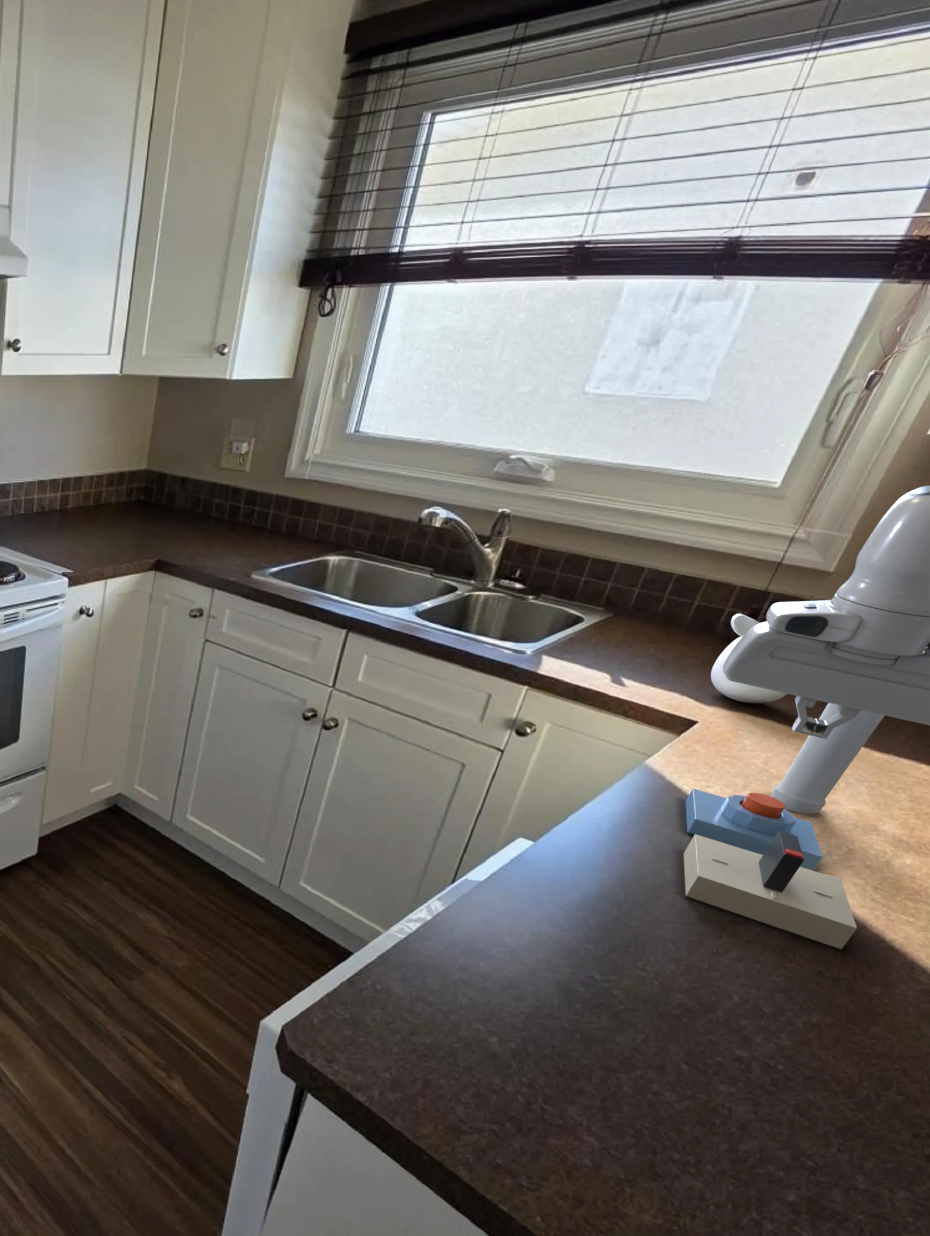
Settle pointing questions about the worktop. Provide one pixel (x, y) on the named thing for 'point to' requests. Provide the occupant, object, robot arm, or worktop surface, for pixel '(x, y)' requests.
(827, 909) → the box
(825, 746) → the bottle
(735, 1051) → the worktop surface
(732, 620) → the piggy bank
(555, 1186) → the worktop surface
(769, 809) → the button
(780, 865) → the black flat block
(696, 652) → the worktop surface
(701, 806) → the button housing
